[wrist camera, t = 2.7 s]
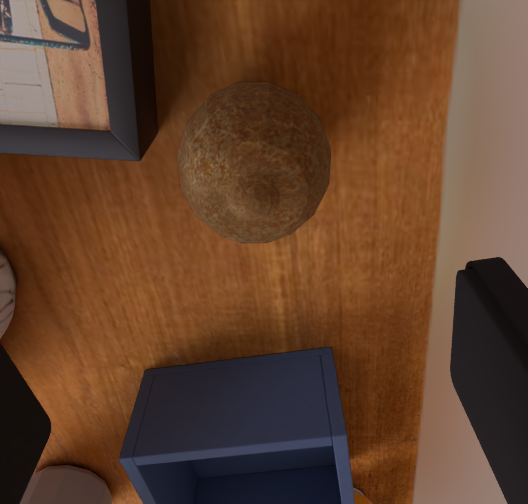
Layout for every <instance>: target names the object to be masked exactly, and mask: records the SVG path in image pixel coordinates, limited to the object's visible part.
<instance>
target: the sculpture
mask: <svg viewBox="0 0 528 504" xmlns="http://www.w3.org/2000/svg"><path fill="white" fill-rule="evenodd" d="M16 284H17V277H16V275H15V273H14V272H13V270H12V268H11V266H10V264H9V262H8V260H7V258H6V256H5V254H4V253H3V251H2V250H1V249H0V339H1V337H2V336H3V334H4V333H5V331H6V330H7V328H8V326H9V323H10V321H11V319H12V317H13V312H14V308H15V297H16Z"/></svg>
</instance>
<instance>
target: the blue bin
mask: <svg viewBox="0 0 528 504" xmlns="http://www.w3.org/2000/svg"><path fill="white" fill-rule="evenodd" d="M119 461H120V463H121V464H122V466H123V468H124V470H125V472H126V473H127V475H128V477H129V479H130V481H131V482H132V484H133V486H134V488H135V489H136V491H137V493H138V495H139V497H140V498H141V500H142V502H143V504H355V499H354V491H353V482H352V474H351V465H350V457H349V448H348V440H347V433H346V427H345V421H344V415H343V410H342V404H341V398H340V392H339V387H338V381H337V375H336V369H335V363H334V358H333V352H332V347H328V348H320V349H312V350H304V351H295V352H287V353H279V354H271V355H263V356H255V357H247V358H239V359H230V360H222V361H214V362H206V363H198V364H190V365H182V366H173V367H165V368H157V369H149V370H145V372H144V375H143V378H142V382H141V385H140V389H139V392H138V395H137V399H136V402H135V405H134V409H133V412H132V415H131V419H130V422H129V426H128V429H127V432H126V436H125V439H124V442H123V446H122V449H121V453H120V456H119Z"/></svg>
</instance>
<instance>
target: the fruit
mask: <svg viewBox="0 0 528 504" xmlns="http://www.w3.org/2000/svg"><path fill="white" fill-rule="evenodd" d="M177 160H178V168H179V176H180V185H181V188H182V192H183V194H184V196H185V198H186V199H187V201H188V203H189V205H190V206H191V208H192V210H193V212H194V213H195V215H196V217H198V218H199V219H200V220H201V221H202V222H204V223H205V224H206V225H207V226H209V227H210V228H211V229H212V230H214V231H215V232H216V233H217V234H219V235H220V236H223V237H226V238H229V239H231V240H234V241H237V242H240V243H269V242H272V241H274V240H277V239H280V238H282V237H285V236H288V235H290V234H292V233H293V232H295V231H296V230H297V229H298V228H299V227H300V226H302V225H303V224H304V223H305V222H306V221H307V220H308V219H310V218H311V217H312V216H313V215H314V213H315V212H316V210H317V208H318V206H319V204H320V202H321V200H322V198H323V196H324V194H325V192H326V190H327V187H328V185H329V177H330V162H331V150H330V145H329V142H328V140H327V137H326V134H325V132H324V129H323V126H322V123H321V121H320V119H319V117H318V116H317V115H316V114H315V113H314V111H313V110H312V109H311V108H310V107H309V106H308V105H307V104H306V103H305V102H304V101H303V100H302V99H301V98H300V97H299V96H298V95H297V94H296V93H294V92H292V91H289V90H287V89H284V88H282V87H280V86H277V85H275V84H272V83H270V82H238V83H236V84H233V85H231V86H229V87H227V88H225V89H222V90H220V91H218V92H216V93H214V94H211V95H210V96H209V97H208V99H207V100H206V101H205V102H204V103H203V104H202V105H201V106H200V108H199V109H198V110H197V111H196V112H195V113H194V114H193V116H192V117H191V118H190V119H189V120H188V121H187V124H186V128H185V131H184V134H183V137H182V140H181V144H180V147H179V151H178V156H177Z"/></svg>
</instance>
